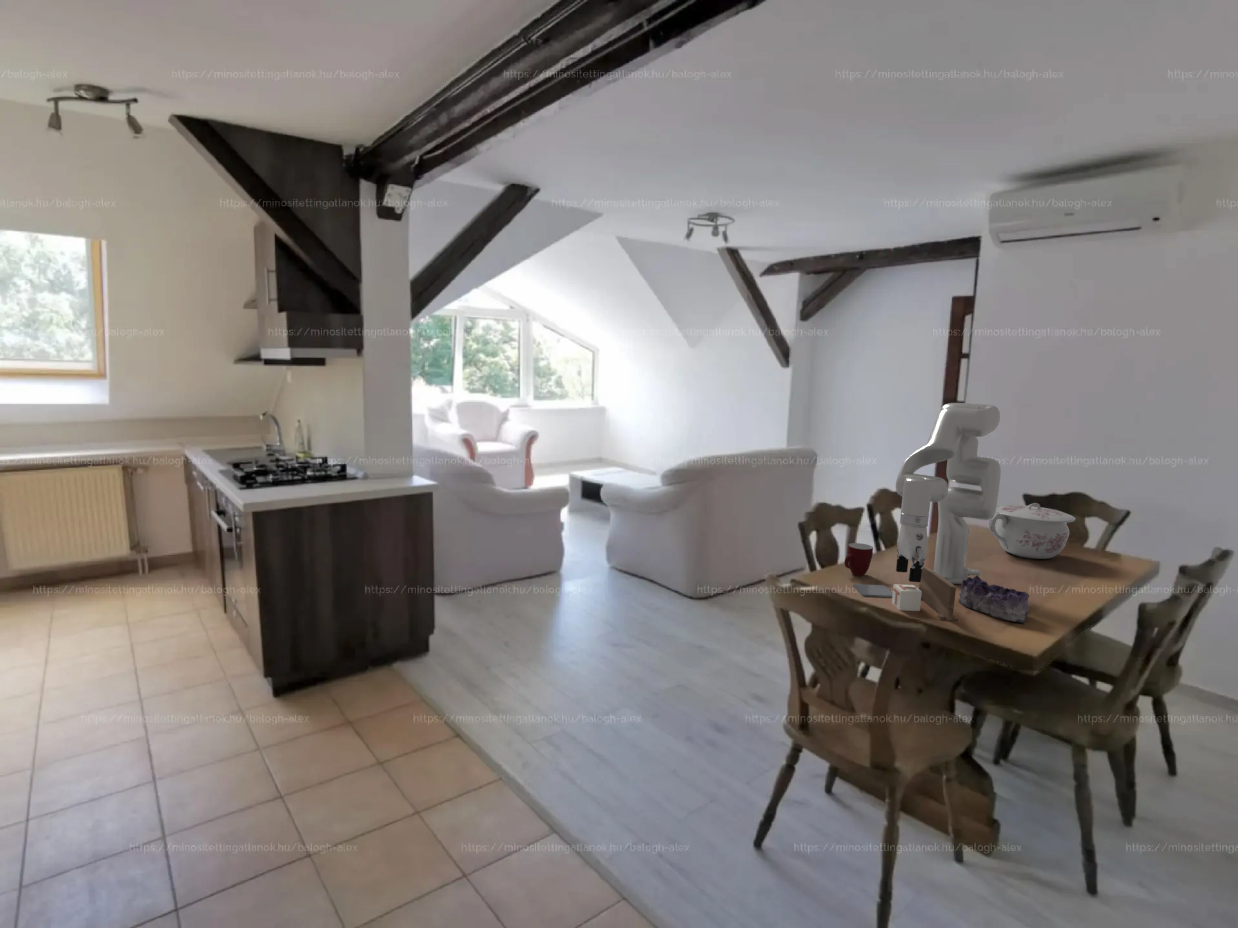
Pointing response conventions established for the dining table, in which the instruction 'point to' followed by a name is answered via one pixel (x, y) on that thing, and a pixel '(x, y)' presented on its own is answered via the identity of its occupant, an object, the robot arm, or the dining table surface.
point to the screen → (938, 594)
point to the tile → (873, 590)
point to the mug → (859, 558)
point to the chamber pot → (1031, 530)
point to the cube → (906, 597)
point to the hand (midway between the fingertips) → (907, 576)
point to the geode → (994, 600)
